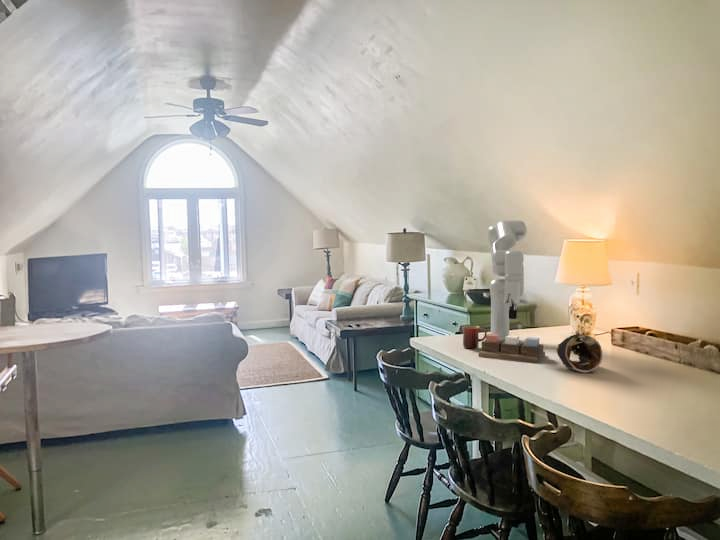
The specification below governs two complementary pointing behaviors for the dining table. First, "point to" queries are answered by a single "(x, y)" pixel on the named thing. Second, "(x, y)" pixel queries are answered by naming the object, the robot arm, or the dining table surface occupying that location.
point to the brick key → (493, 338)
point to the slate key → (532, 342)
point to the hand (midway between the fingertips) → (512, 318)
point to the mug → (472, 336)
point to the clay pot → (580, 352)
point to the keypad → (512, 351)
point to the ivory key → (512, 340)
